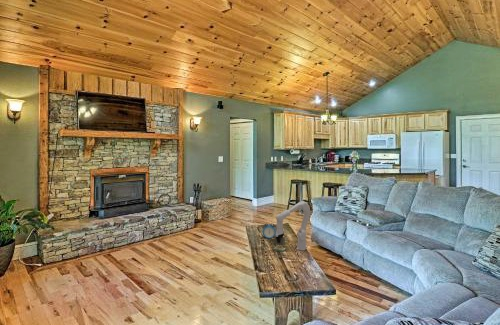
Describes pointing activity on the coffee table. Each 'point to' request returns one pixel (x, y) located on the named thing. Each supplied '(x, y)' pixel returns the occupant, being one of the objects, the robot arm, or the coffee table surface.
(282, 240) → the block
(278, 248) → the green and cream box
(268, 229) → the alarm clock
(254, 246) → the coffee table surface
